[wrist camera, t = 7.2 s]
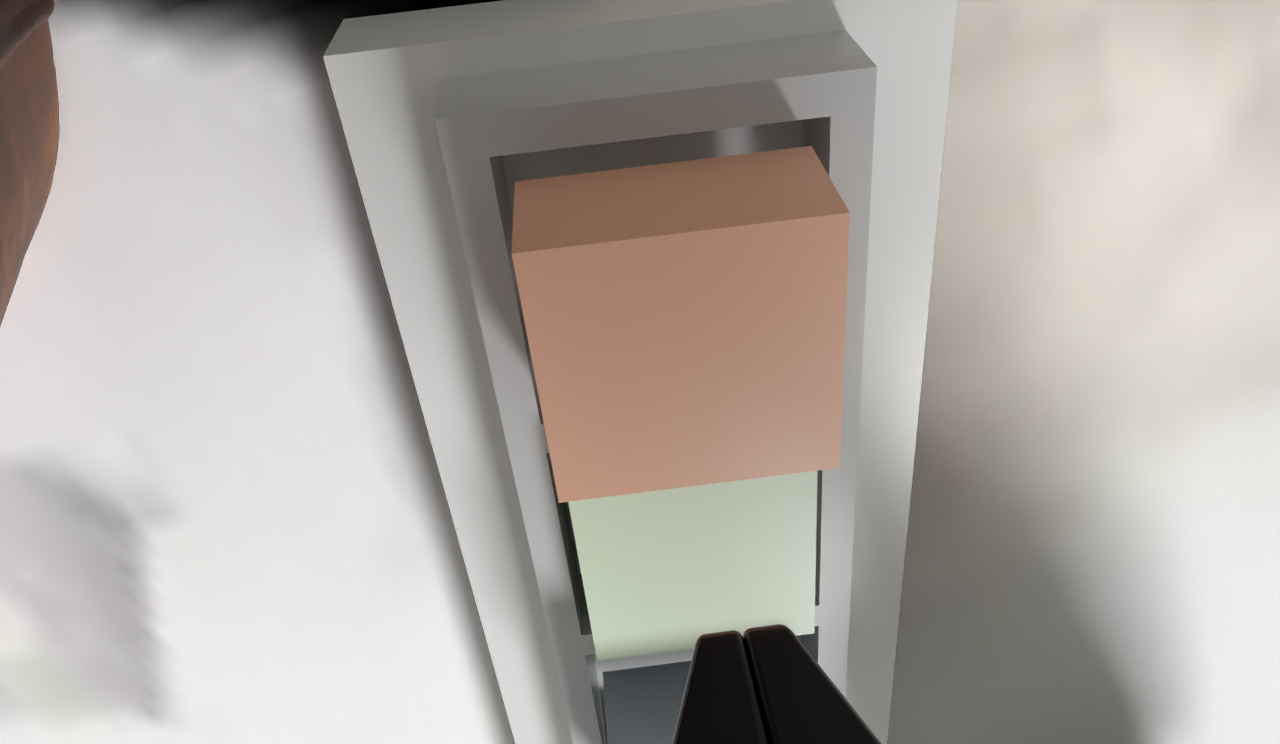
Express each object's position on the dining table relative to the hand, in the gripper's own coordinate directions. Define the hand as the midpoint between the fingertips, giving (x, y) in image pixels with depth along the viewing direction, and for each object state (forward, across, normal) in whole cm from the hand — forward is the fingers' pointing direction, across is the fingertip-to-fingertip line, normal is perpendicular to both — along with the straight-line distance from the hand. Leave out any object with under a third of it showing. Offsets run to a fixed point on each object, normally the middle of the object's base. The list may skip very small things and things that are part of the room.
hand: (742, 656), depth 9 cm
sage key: (+8, 0, +5) cm, 9 cm away
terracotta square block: (+7, 0, 0) cm, 7 cm away
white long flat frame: (+10, 0, +8) cm, 13 cm away
